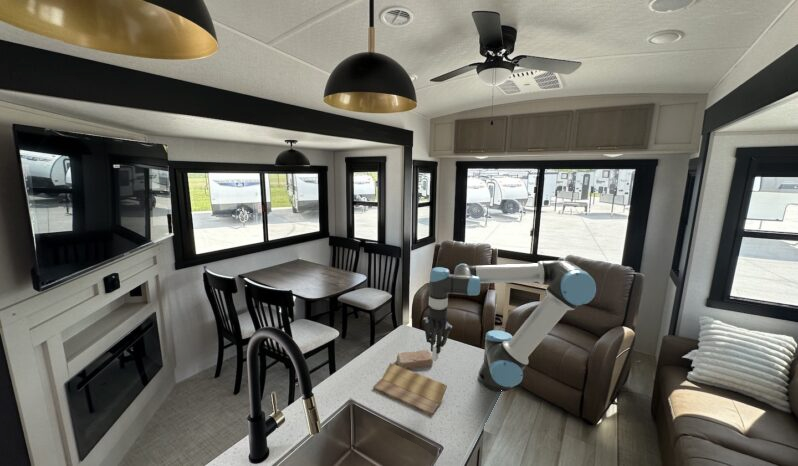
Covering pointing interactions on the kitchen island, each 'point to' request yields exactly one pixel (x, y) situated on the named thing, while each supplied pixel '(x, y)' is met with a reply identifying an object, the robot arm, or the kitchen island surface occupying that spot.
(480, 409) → the kitchen island surface
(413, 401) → the laid row
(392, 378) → the plank
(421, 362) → the brick
